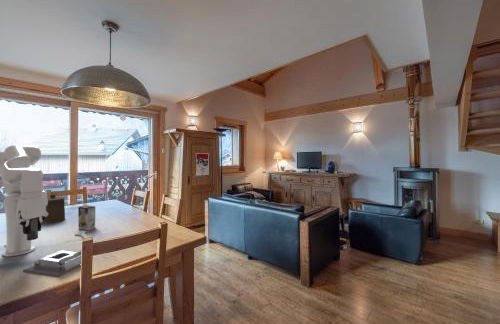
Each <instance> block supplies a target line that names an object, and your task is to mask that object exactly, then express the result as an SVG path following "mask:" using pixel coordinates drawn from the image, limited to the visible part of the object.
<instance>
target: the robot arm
mask: <svg viewBox="0 0 500 324" xmlns="http://www.w3.org/2000/svg"><path fill="white" fill-rule="evenodd" d="M41 157H42V151H41V149H40V148H39V147H38V146H36V145H20V144H19V145H18V144H16V145H15V144H14V145H9V146H7V147H5V149H4V151H0V178H1V179H2V185H3V190H4V193H5V195H7V197H5V198H4V200H3V202H2V203H3V208H4V213H5V223H6V224H5V226H6V228H5V229H6V244H5V245H4V246H3V248H5V249H6V250H4V251H3V252H2V256H3V257H18V256H21V255H25V254H28V253H31V252H32V251H34V250H36V245H32V240H27V234H30V226H28V225H29V221H30V219H33V218H38V232H40V231H42V224H43V223H42V222H43V220H44V218H45V217H46V216H48V213H47V212H46V206H47V204H48V199H47V198H48V196H47V192H46V190H45V185H44V182H43V178H44V177H43V176H44V175H43V174H44V173H43V171H42V170H41V169H40V168H38V167H30V166H33V165H35V164H36V163H38V162H39V160H40V159H41Z"/></svg>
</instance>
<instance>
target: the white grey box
mask: <svg viewBox="0 0 500 324" xmlns="http://www.w3.org/2000/svg"><path fill="white" fill-rule="evenodd" d="M81 251H82V250H79V251H77V252H76V251H69V250H59V251H57V252H56V251H55V252H54V253H51V254H48V255H46V256H44V257H41V258H39V259H38V260H39V263H40V264H47V265H55V266H61V271H67V270H69V269H71V268H73V267H75V266H77V265H79V264H81ZM60 257H63V258H61V259H57V258H60Z"/></svg>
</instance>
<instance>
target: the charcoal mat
mask: <svg viewBox="0 0 500 324" xmlns="http://www.w3.org/2000/svg"><path fill="white" fill-rule="evenodd" d="M78 267H81V266H80V264H79V265H77V266H75V267H73V268H71V269H69V270H67V271H61V270H53V269H45V268H38V267H34V264H33V265H30V266H29V267H26V268H24V269H22V272H23V273H29V274H37V275H42V276H50V277H58V278H59V277H61V276H63V275H65V274H67V273H69V272H71V271H73V270H75V269H77V268H78Z"/></svg>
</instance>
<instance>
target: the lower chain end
mask: <svg viewBox="0 0 500 324" xmlns="http://www.w3.org/2000/svg"><path fill="white" fill-rule="evenodd" d="M61 258H63V257H60V258H57V259H61ZM33 265H34V267H38V268H45V269H53V270H61V266H55V265H47V264H40V263H39V259H37V260H35V261H34V262H33Z"/></svg>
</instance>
